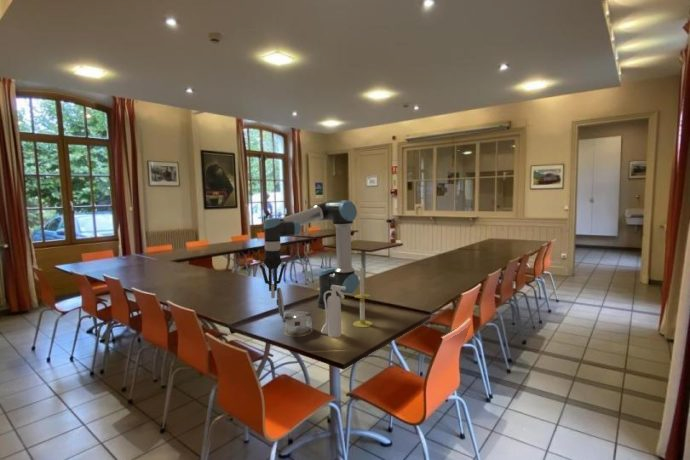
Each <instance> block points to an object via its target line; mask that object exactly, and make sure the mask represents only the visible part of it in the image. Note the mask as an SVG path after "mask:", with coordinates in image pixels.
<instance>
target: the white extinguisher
mask: <svg viewBox="0 0 690 460" xmlns="http://www.w3.org/2000/svg"><path fill="white" fill-rule="evenodd" d="M330 289H332V291H327V292H325V293H324V298H323V299H324V303H325V309H324V311H325V322H324V324H323V326H322V328H321V330H320V333H322V334H324V335H327V336H328V337H330V338H339V337H341V336H342V312H341V311H342V309H341V308H342V305H341V301H342V300H343V299H345V293H343V292H342V291H341V290H345V289H346V287H344V286H338V285H331V288H330ZM336 291H337V292H338V293H339V295H340V297H339V296H336ZM327 293H331V296H329V297H328V299H327V303H326V299H325V297H326V294H327ZM340 298H341V299H340Z"/></svg>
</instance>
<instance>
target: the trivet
mask: <svg viewBox="0 0 690 460" xmlns="http://www.w3.org/2000/svg"><path fill="white" fill-rule="evenodd" d="M313 331H314V329H313V328H312V331H311V332H310V333H309V334H306V335H302V336H301V337H304V336H308V335H310V334H312V333H313ZM284 334H285V335H286V336H290V337H292V336H291V335H288V334H286V333H285V330H284Z"/></svg>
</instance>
